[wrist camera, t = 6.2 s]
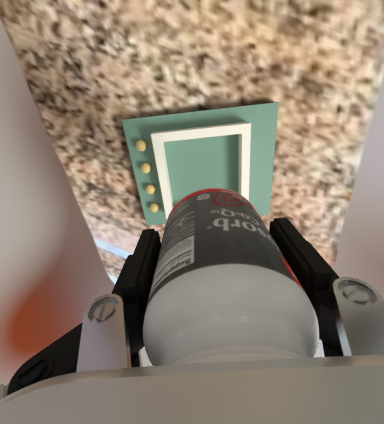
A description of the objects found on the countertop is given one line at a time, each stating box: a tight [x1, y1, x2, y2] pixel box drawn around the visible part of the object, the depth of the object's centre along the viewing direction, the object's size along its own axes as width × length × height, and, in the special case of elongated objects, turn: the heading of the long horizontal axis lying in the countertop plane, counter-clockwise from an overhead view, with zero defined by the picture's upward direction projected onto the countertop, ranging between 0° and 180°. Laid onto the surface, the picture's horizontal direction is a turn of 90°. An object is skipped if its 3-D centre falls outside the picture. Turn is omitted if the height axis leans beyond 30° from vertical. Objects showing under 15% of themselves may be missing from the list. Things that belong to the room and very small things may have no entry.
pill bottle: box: [143, 187, 319, 366], centre depth 9 cm, size 6×6×10 cm
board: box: [122, 102, 278, 225], centre depth 22 cm, size 12×15×3 cm
